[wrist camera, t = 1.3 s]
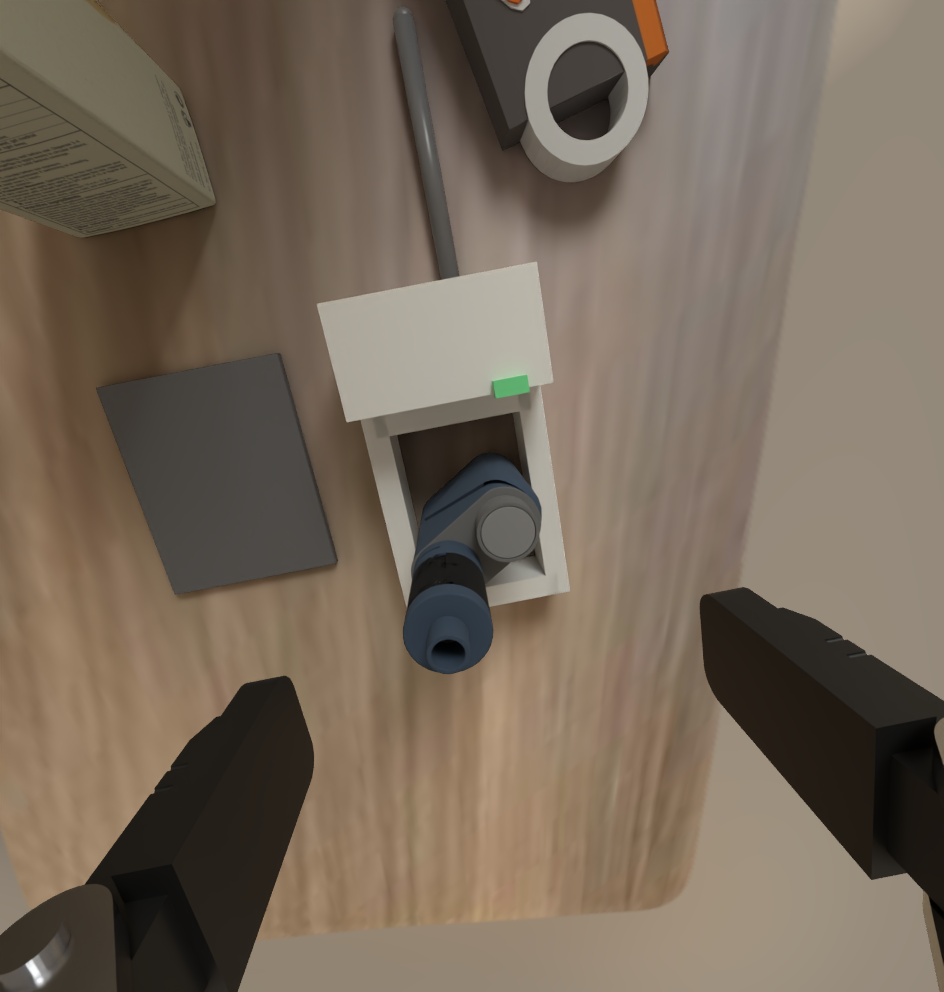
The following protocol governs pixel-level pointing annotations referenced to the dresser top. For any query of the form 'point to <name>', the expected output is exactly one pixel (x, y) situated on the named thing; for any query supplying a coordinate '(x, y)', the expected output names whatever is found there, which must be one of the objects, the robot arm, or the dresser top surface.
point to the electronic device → (561, 73)
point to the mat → (221, 472)
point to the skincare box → (90, 124)
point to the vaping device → (466, 561)
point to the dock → (448, 365)
